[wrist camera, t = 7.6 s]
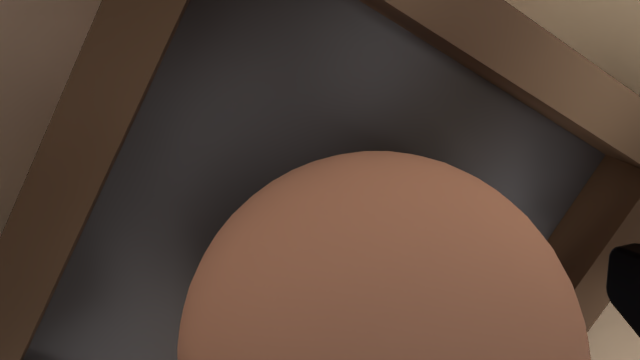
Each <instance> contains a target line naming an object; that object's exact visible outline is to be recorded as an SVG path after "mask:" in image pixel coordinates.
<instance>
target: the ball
mask: <svg viewBox="0 0 640 360" xmlns="http://www.w3.org/2000/svg"><path fill="white" fill-rule="evenodd" d="M177 358H178V360H591V359H590V350H589V342H588V336H587V330H586V324H585V321H584V318H583V314H582V311H581V308H580V305H579V302H578V299H577V296H576V293H575V290H574V288H573V285H572V283H571V281H570V279H569V277H568V275H567V273H566V272H565V270H564V268H563V266H562V264H561V262H560V261H559V259H558V257H557V255H556V253H555V251H554V250H553V248H552V247H551V245H550V244H549V243H548V241H547V240H546V239H545V238H544V236H543V235H542V234H541V233H540V231H539V230H538V229H537V228H536V227H535V225H534V224H533V223H532V222H531V220H530V219H529V218H528V217H527V216H526V215H525V214H524V213H523V212H522V211H521V210H520V209H518V208H517V207H516V206H515V205H514V204H513V203H512V202H511V201H510V200H508V199H507V198H506V197H505V196H503V195H502V194H501V193H500V192H498V191H497V190H496V189H494V188H493V187H491V186H489V185H488V184H486V183H485V182H483V181H482V180H480V179H479V178H477V177H475V176H473V175H471V174H469V173H467V172H465V171H462V170H460V169H458V168H456V167H453V166H451V165H449V164H447V163H444V162H441V161H437V160H434V159H430V158H427V157H423V156H418V155H414V154H407V153H400V152H392V151H361V152H354V153H346V154H340V155H335V156H331V157H328V158H324V159H320V160H316V161H313V162H311V163H308V164H306V165H303V166H301V167H298V168H296V169H293V170H291V171H289V172H288V173H286V174H284V175H282V176H280V177H279V178H277V179H275V180H273V181H272V182H270V183H269V184H268V185H266V186H265V187H263V188H262V189H261V190H259V191H258V192H257V193H255V194H254V195H253V196H251V197H250V198H249V199H248V200H247V201H246V202H245V203H244V204H243V205H242V206H241V207H240V208H239V209H238V210H237V211H235V212H234V213H233V214H232V215H231V217H230V218H229V219H228V220H227V222H226V223H225V224H224V225H223V226H222V228H221V229H220V230H219V231H218V233H217V234H216V235H215V237H214V239H213V240H212V242H211V244H210V245H209V247H208V248H207V250H206V252H205V253H204V255H203V257H202V259H201V261H200V263H199V266H198V268H197V270H196V272H195V275H194V277H193V279H192V281H191V284H190V286H189V289H188V293H187V297H186V300H185V304H184V307H183V312H182V317H181V322H180V329H179V337H178V346H177Z"/></svg>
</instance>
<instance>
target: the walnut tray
mask: <svg viewBox="0 0 640 360" xmlns="http://www.w3.org/2000/svg"><path fill="white" fill-rule="evenodd" d="M361 151H392V152H400V153H407V154H414V155H418V156H423V157H427V158H430V159H434V160H437V161H441V162H444V163H447V164H449V165H451V166H453V167H456V168H458V169H460V170H462V171H465V172H467V173H469V174H471V175H473V176H475V177H477V178H479V179H480V180H482V181H483V182H485V183H486V184H488V185H489V186H491V187H493V188H494V189H496V190H497V191H498V192H500V193H501V194H502V195H503V196H505V197H506V198H507V199H508V200H510V201H511V202H512V203H513V204H514V205H515V206H516V207H517V208H518V209H520V210H521V211H522V212H523V213H524V214H525V215H526V216H527V217H528V218H529V219H530V220H531V222H532V223H533V224H534V225H535V227H536V228H537V229H538V230H539V231H540V233H541V234H542V235H543V236H544V238H545V239H546V240H547V241H548V243H549V244H550V245H551V247H552V248H553V250H554V251H555V253H556V255H557V257H558V259H559V261H560V262H561V264H562V266H563V268H564V270H565V272H566V273H567V275H568V277H569V279H570V281H571V283H572V285H573V288H574V290H575V293H576V296H577V299H578V302H579V305H580V308H581V311H582V314H583V318H584V321H585V324H586V330H587V332H588V331H589V329H590V328H591V326H592V325H593V324H594V322H595V321H596V320H597V318H598V317H599V316H600V314H601V313H602V311H603V310H604V309H605V307H606V306H607V305H608V303H609V302H610V300H609V298H608V295H607V291H606V282H607V271H608V261H609V254H610V252H611V250H612V249H614V248H615V247H618V246H623V245H627V244H632V243H639V244H640V96H639V95H637V94H636V93H635V92H633V91H632V90H630V89H629V88H628V87H626V86H625V85H623V84H622V83H620V82H619V81H618V80H616V79H615V78H613V77H612V76H611V75H609V74H608V73H606V72H605V71H603V70H602V69H601V68H599V67H598V66H596V65H595V64H594V63H592V62H591V61H589V60H588V59H586V58H585V57H584V56H582V55H581V54H579V53H578V52H577V51H575V50H574V49H572V48H571V47H569V46H568V45H567V44H565V43H564V42H562V41H561V40H560V39H558V38H557V37H555V36H554V35H552V34H551V33H550V32H548V31H547V30H545V29H544V28H543V27H541V26H540V25H538V24H537V23H535V22H534V21H533V20H531V19H530V18H528V17H527V16H526V15H524V14H523V13H521V12H520V11H518V10H517V9H516V8H514V7H513V6H511V5H510V4H508V3H507V2H506V1H504V0H102V2H101V4H100V6H99V9H98V11H97V13H96V16H95V18H94V20H93V23H92V25H91V27H90V30H89V32H88V34H87V37H86V39H85V41H84V44H83V46H82V48H81V51H80V53H79V55H78V58H77V60H76V62H75V65H74V67H73V69H72V72H71V74H70V76H69V79H68V81H67V83H66V86H65V88H64V90H63V93H62V95H61V97H60V100H59V102H58V104H57V107H56V109H55V111H54V114H53V116H52V118H51V121H50V123H49V125H48V128H47V130H46V132H45V135H44V137H43V139H42V142H41V144H40V146H39V149H38V151H37V153H36V156H35V158H34V160H33V163H32V165H31V167H30V170H29V172H28V174H27V177H26V179H25V181H24V184H23V186H22V188H21V191H20V193H19V195H18V198H17V200H16V202H15V205H14V207H13V209H12V212H11V214H10V216H9V219H8V221H7V223H6V226H5V228H4V230H3V233H2V235H1V237H0V360H178V358H177V346H178V337H179V329H180V322H181V317H182V312H183V307H184V304H185V300H186V297H187V293H188V289H189V286H190V284H191V281H192V279H193V277H194V275H195V272H196V270H197V268H198V266H199V263H200V261H201V259H202V257H203V255H204V253H205V252H206V250H207V248H208V247H209V245H210V244H211V242H212V240H213V239H214V237H215V235H216V234H217V233H218V231H219V230H220V229H221V228H222V226H223V225H224V224H225V223H226V222H227V220H228V219H229V218H230V217H231V215H232V214H233V213H234V212H235V211H237V210H238V209H239V208H240V207H241V206H242V205H243V204H244V203H245V202H246V201H247V200H248V199H249V198H250V197H251V196H253V195H254V194H255V193H257V192H258V191H259V190H261V189H262V188H263V187H265V186H266V185H268V184H269V183H270V182H272V181H273V180H275V179H277V178H279V177H280V176H282V175H284V174H286V173H288V172H289V171H291V170H293V169H296V168H298V167H301V166H303V165H306V164H308V163H311V162H313V161H316V160H320V159H324V158H328V157H331V156H335V155H340V154H346V153H354V152H361Z"/></svg>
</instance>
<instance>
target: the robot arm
mask: <svg viewBox="0 0 640 360" xmlns="http://www.w3.org/2000/svg"><path fill="white" fill-rule="evenodd" d="M606 291H607V295H608V298H609V300H610V301H611V303H612V304H613V305H614V307H615V308H616V309H617V310H618V311H619V313H620V314H621V315H622V316H623V318H624V319H625V320H626V321H627V322H628V324H629V325H630V326H631V327H632V329H633V330H634V331H635V332H636V334H637V335H638V336H639V337H640V244H639V243H632V244H627V245H623V246H618V247H615V248H614V249H612V250H611V252H610V254H609V261H608V271H607V282H606Z"/></svg>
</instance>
